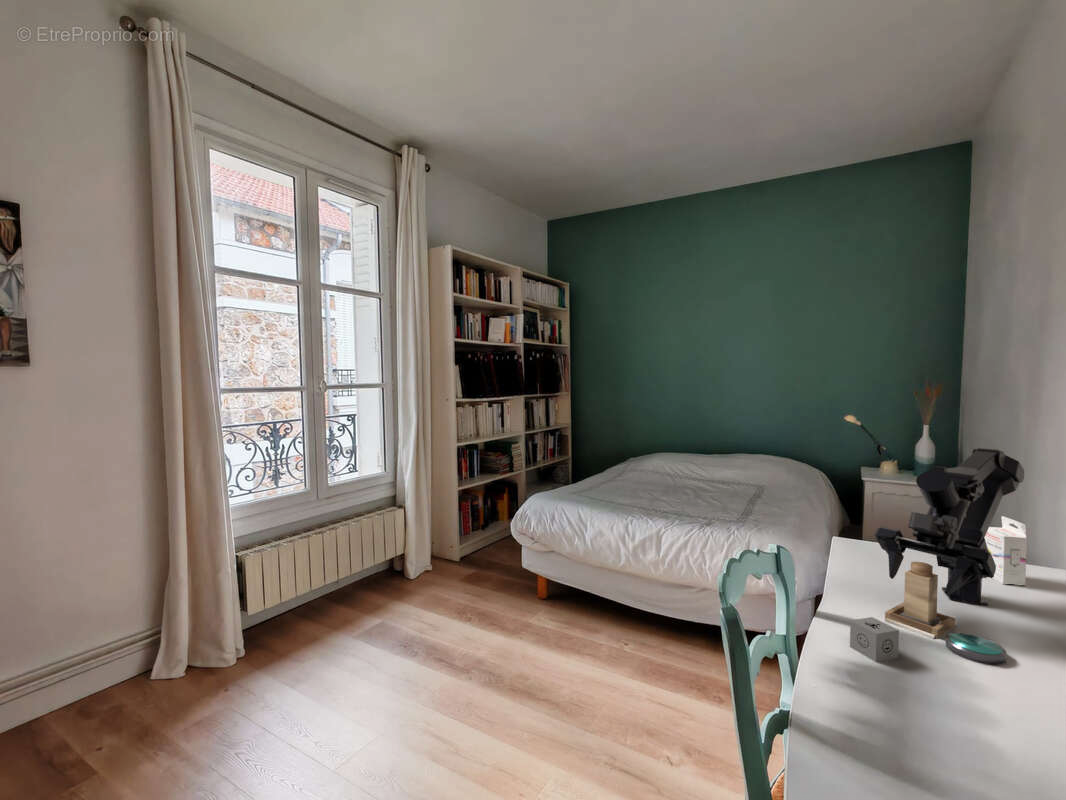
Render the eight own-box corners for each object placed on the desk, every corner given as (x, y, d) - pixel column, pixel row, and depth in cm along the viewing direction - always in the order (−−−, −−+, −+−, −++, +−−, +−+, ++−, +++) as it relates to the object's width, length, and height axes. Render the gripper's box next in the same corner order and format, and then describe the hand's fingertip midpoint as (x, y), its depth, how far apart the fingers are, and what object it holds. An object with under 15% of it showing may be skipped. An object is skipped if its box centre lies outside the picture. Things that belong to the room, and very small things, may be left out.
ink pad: (939, 636, 93) (940, 628, 93) (995, 646, 90) (995, 638, 90) (953, 657, 86) (953, 648, 86) (1014, 669, 82) (1015, 660, 82)
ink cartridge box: (977, 571, 126) (979, 514, 125) (1000, 573, 125) (1002, 515, 124) (1002, 584, 118) (1004, 523, 117) (1026, 586, 117) (1029, 524, 116)
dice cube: (849, 647, 89) (850, 620, 89) (871, 643, 91) (872, 617, 91) (875, 662, 85) (876, 633, 84) (898, 658, 86) (898, 630, 86)
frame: (905, 608, 105) (905, 601, 105) (956, 625, 98) (956, 617, 97) (883, 620, 100) (883, 612, 99) (935, 639, 92) (935, 630, 92)
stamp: (911, 613, 102) (912, 558, 102) (939, 622, 98) (941, 566, 97) (900, 618, 99) (902, 563, 99) (929, 628, 95) (931, 570, 95)
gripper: (879, 489, 108) (852, 548, 102) (992, 507, 92) (967, 578, 86) (895, 520, 112) (870, 578, 107) (1005, 542, 96) (982, 612, 91)
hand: (917, 585), depth 98 cm, fingers open, 9 cm apart
